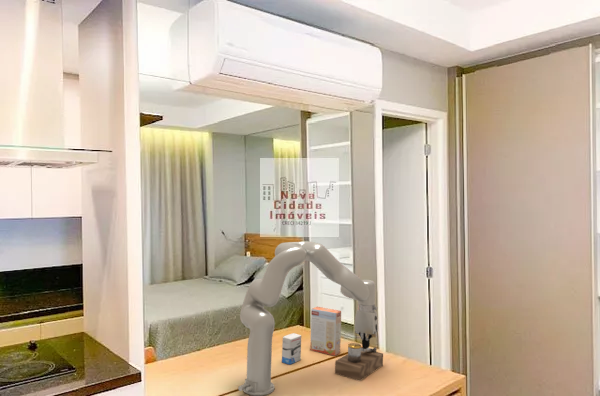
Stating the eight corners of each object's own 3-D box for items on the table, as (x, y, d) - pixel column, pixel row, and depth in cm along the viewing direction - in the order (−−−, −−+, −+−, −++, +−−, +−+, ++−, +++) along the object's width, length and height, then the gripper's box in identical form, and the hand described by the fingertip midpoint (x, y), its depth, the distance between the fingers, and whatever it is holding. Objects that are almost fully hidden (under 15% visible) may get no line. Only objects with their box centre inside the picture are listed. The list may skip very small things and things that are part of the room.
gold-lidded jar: (362, 371, 200) (363, 345, 200) (356, 375, 195) (357, 348, 195) (351, 368, 203) (352, 342, 203) (345, 371, 199) (345, 345, 198)
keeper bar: (364, 351, 203) (365, 349, 203) (357, 350, 205) (358, 347, 205) (374, 351, 211) (374, 349, 211) (367, 350, 213) (367, 347, 213)
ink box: (289, 365, 206) (290, 339, 206) (281, 362, 209) (282, 336, 209) (301, 360, 213) (301, 334, 212) (292, 357, 216) (293, 332, 215)
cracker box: (340, 352, 224) (342, 310, 223) (334, 356, 218) (336, 312, 218) (315, 347, 231) (317, 305, 231) (309, 350, 226) (311, 308, 226)
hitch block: (359, 380, 191) (360, 363, 191) (335, 373, 198) (335, 356, 198) (382, 365, 209) (383, 349, 209) (359, 359, 216) (360, 343, 216)
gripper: (385, 308, 205) (384, 349, 205) (355, 303, 214) (355, 342, 214) (377, 312, 199) (376, 354, 199) (347, 306, 207) (347, 346, 208)
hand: (365, 347), depth 207 cm, fingers closed
